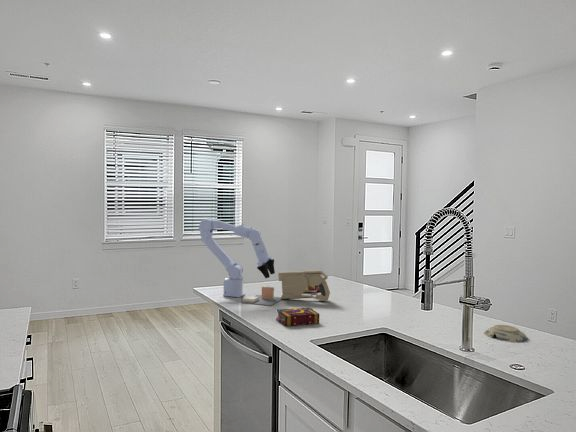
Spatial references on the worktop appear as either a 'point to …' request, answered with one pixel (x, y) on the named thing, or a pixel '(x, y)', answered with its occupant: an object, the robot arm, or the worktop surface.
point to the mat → (265, 301)
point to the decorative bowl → (506, 333)
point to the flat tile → (250, 299)
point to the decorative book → (297, 316)
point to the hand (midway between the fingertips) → (270, 275)
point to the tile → (267, 292)
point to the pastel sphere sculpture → (312, 289)
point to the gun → (303, 284)
